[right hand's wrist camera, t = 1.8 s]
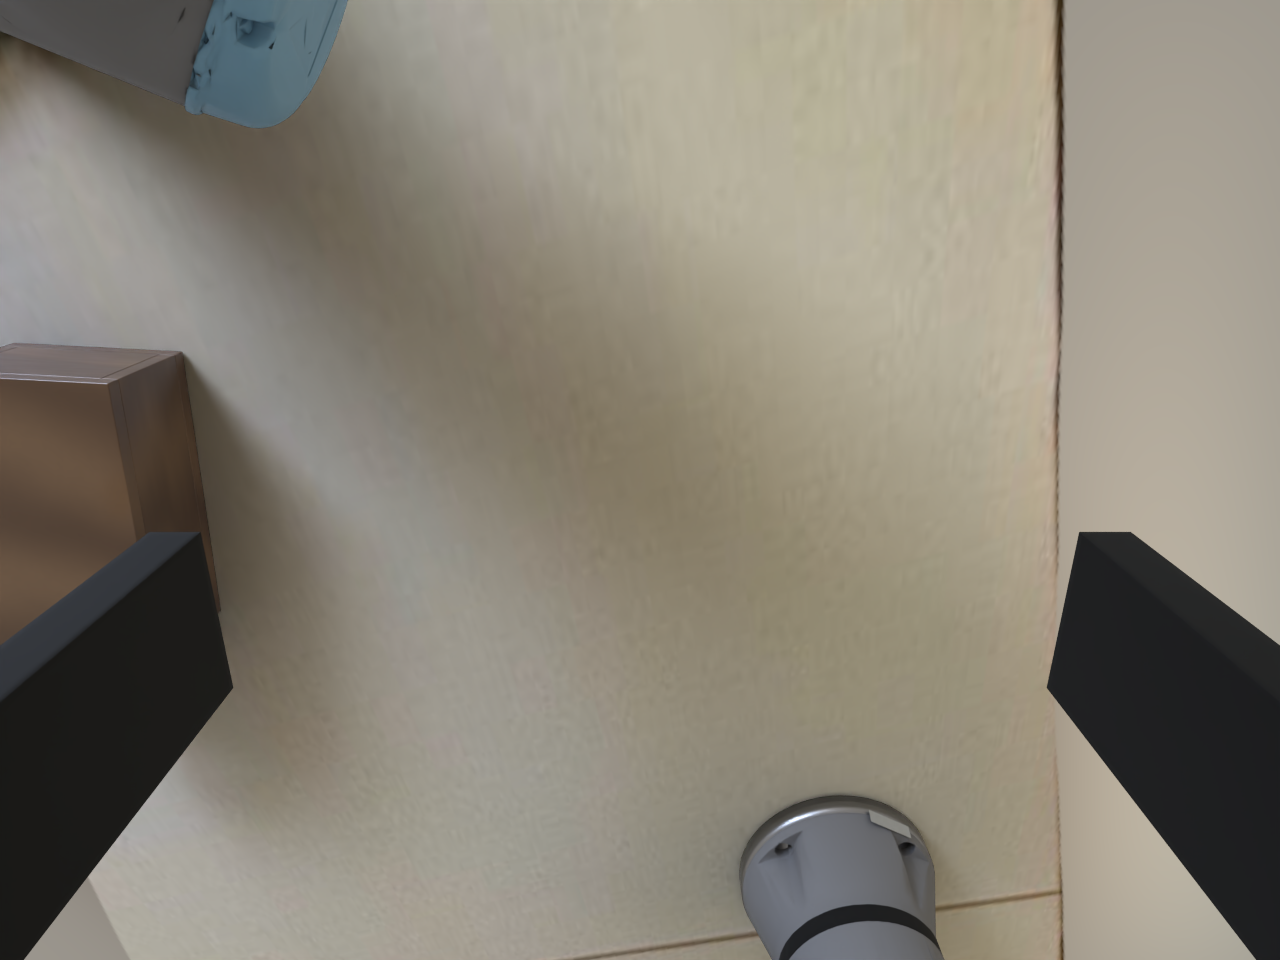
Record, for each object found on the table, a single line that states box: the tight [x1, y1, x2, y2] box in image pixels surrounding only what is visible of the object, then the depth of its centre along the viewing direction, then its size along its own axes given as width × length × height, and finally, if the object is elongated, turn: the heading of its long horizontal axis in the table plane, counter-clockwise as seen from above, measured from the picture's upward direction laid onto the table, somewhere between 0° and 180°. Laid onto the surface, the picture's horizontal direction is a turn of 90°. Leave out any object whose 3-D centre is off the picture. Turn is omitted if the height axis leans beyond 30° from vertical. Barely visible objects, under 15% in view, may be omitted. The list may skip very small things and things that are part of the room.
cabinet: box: [0, 343, 221, 645], centre depth 52 cm, size 19×10×8 cm, turn 177°
